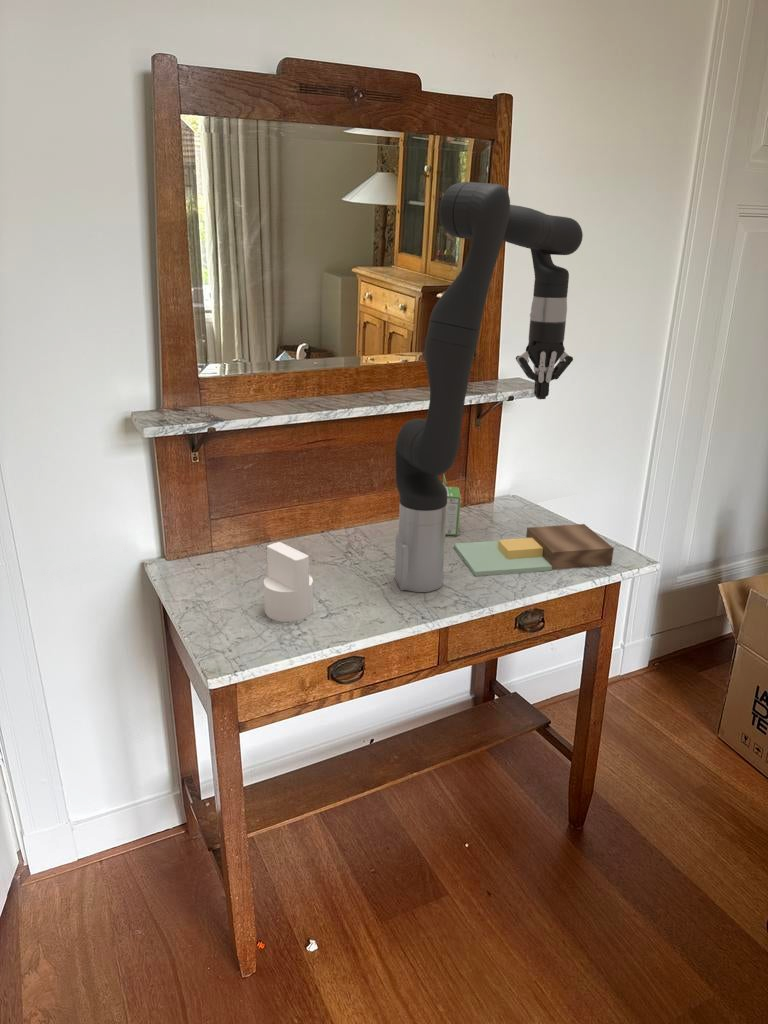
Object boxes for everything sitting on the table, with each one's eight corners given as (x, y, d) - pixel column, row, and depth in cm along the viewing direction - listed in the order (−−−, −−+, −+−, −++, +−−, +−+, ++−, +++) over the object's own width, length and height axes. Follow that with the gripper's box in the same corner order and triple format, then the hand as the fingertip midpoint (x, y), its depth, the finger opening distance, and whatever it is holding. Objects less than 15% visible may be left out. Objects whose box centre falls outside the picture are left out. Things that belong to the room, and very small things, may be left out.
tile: (507, 559, 162) (508, 550, 161) (497, 548, 167) (498, 539, 166) (542, 556, 163) (543, 548, 163) (531, 545, 169) (532, 537, 168)
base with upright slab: (255, 609, 141) (252, 550, 136) (293, 594, 147) (291, 537, 142) (284, 626, 135) (282, 565, 131) (323, 610, 141) (322, 551, 136)
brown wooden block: (550, 569, 160) (552, 552, 158) (525, 543, 173) (527, 527, 171) (611, 565, 163) (613, 548, 161) (582, 539, 175) (584, 524, 174)
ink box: (458, 536, 176) (462, 481, 171) (441, 536, 176) (444, 481, 171) (456, 525, 182) (460, 472, 178) (440, 525, 182) (443, 472, 178)
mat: (474, 576, 156) (475, 571, 156) (453, 547, 170) (453, 543, 169) (551, 570, 159) (552, 566, 159) (524, 542, 173) (525, 538, 173)
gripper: (525, 321, 157) (518, 403, 163) (584, 320, 159) (575, 401, 165) (512, 316, 163) (506, 395, 170) (569, 316, 166) (561, 394, 172)
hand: (540, 398), depth 167 cm, fingers closed
